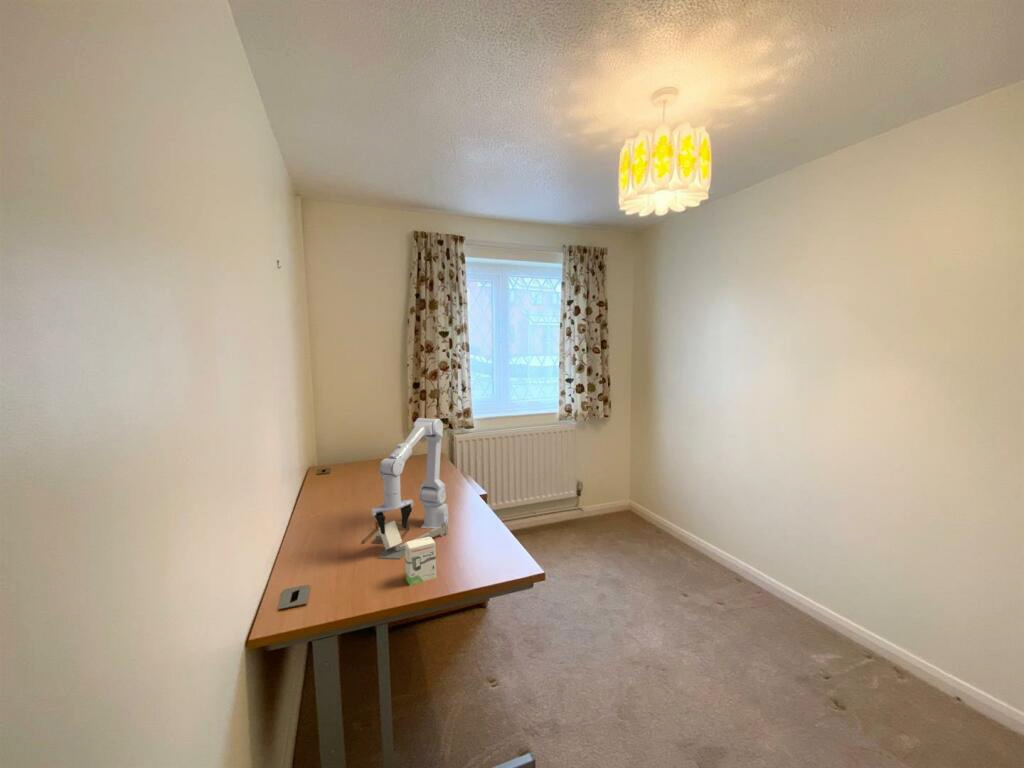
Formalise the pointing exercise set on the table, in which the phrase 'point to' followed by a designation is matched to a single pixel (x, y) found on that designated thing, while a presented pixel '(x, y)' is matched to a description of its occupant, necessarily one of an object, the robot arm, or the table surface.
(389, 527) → the cream tapered prism
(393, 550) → the mat
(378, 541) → the block
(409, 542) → the ink box
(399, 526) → the frame
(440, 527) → the caliper
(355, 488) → the table surface
